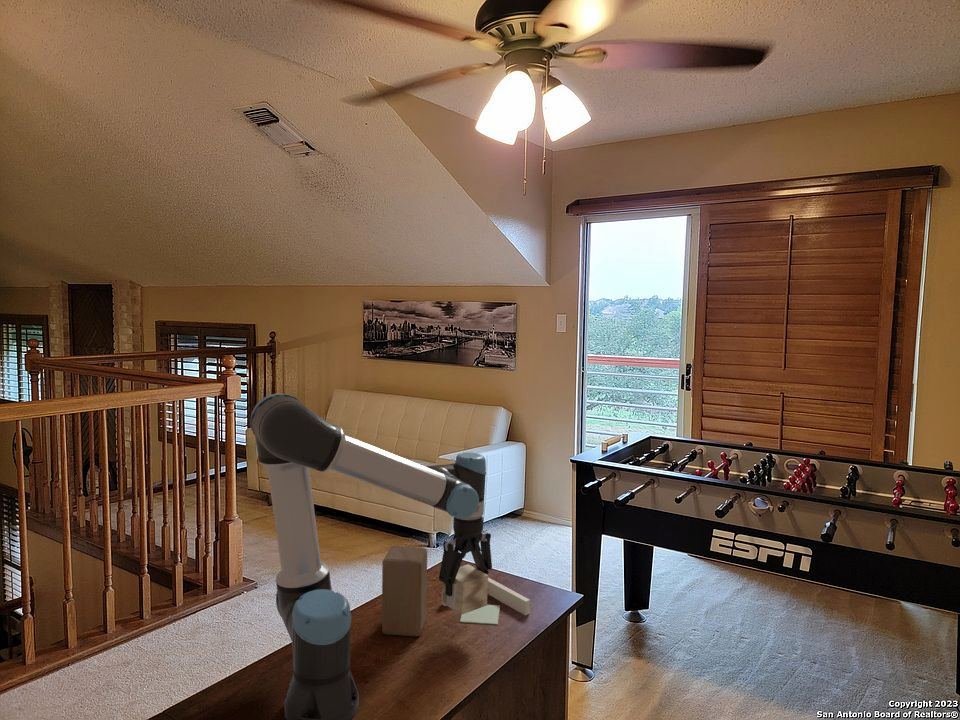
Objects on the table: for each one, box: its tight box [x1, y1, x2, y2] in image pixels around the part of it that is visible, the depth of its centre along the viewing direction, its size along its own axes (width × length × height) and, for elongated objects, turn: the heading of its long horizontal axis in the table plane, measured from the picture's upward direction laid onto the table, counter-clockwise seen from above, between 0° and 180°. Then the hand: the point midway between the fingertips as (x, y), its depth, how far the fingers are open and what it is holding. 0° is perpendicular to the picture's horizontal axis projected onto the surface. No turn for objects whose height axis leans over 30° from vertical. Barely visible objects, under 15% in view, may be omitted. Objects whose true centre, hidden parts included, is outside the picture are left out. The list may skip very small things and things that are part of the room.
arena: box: [441, 576, 531, 626], centre depth 182 cm, size 18×19×4 cm
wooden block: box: [381, 545, 428, 637], centre depth 171 cm, size 10×10×20 cm
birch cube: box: [442, 563, 489, 615], centre depth 168 cm, size 8×8×8 cm
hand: (464, 602), depth 168 cm, fingers closed on birch cube, 8 cm apart
